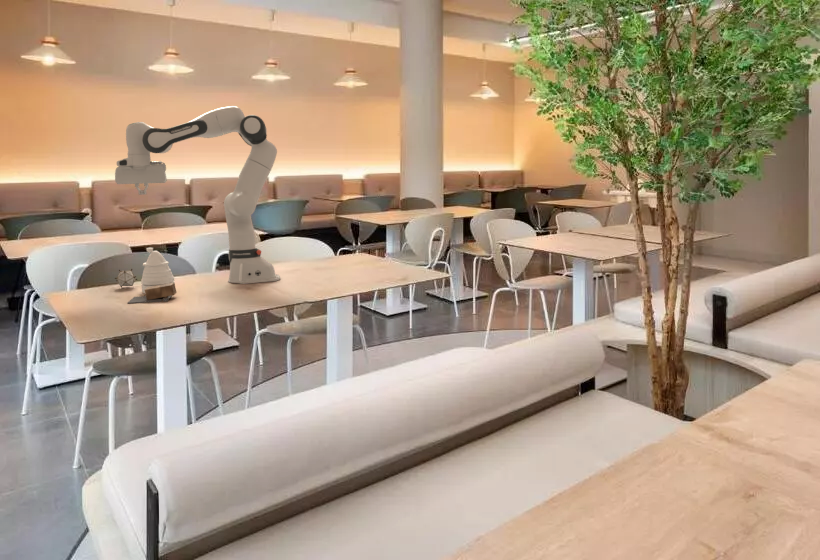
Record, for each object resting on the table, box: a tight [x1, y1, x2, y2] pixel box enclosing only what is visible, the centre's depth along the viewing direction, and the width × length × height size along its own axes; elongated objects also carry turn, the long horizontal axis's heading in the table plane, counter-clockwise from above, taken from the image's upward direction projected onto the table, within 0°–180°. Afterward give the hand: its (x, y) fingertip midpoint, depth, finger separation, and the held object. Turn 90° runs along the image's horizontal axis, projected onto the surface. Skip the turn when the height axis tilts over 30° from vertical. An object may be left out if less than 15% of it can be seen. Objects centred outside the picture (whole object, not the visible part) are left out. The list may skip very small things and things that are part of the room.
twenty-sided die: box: [114, 268, 138, 288], centre depth 272 cm, size 9×8×10 cm
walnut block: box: [145, 283, 177, 300], centre depth 245 cm, size 4×6×10 cm
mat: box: [127, 295, 164, 305], centre depth 244 cm, size 12×12×1 cm
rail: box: [162, 296, 172, 303], centre depth 246 cm, size 1×14×1 cm, turn 12°
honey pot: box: [140, 247, 176, 294], centre depth 261 cm, size 13×13×18 cm
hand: (142, 194), depth 272 cm, fingers closed
